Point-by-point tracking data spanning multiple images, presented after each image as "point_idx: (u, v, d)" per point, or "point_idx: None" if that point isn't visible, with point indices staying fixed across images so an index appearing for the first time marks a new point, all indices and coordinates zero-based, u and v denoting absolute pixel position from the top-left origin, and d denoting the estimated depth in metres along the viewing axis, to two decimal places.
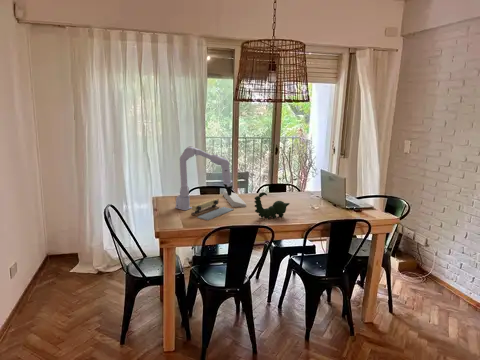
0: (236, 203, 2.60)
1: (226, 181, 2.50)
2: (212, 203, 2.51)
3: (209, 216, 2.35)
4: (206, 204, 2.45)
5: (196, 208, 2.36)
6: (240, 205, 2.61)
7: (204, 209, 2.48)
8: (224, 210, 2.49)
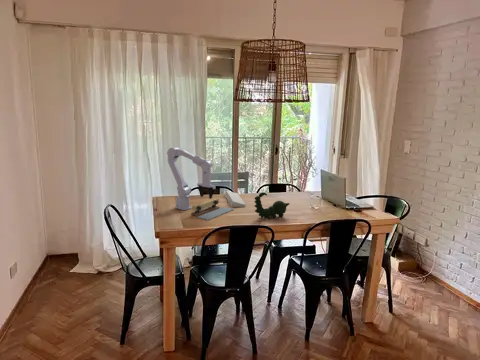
0: (235, 203, 2.60)
1: (208, 184, 2.42)
2: (212, 203, 2.51)
3: (209, 216, 2.35)
4: (206, 204, 2.45)
5: (196, 208, 2.36)
6: (239, 205, 2.61)
7: (204, 209, 2.48)
8: (224, 210, 2.49)
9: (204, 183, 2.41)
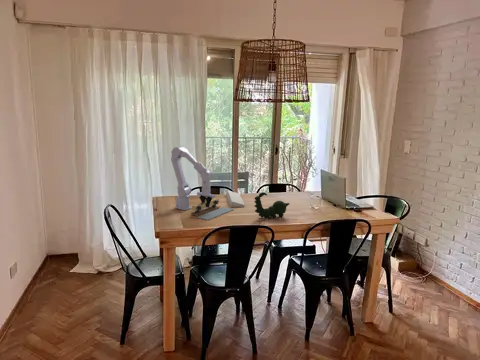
0: (234, 203, 2.60)
1: (208, 193, 2.43)
2: (212, 203, 2.51)
3: (209, 216, 2.35)
4: None
5: (196, 208, 2.36)
6: (238, 205, 2.61)
7: (204, 209, 2.48)
8: (224, 210, 2.49)
9: (204, 192, 2.42)
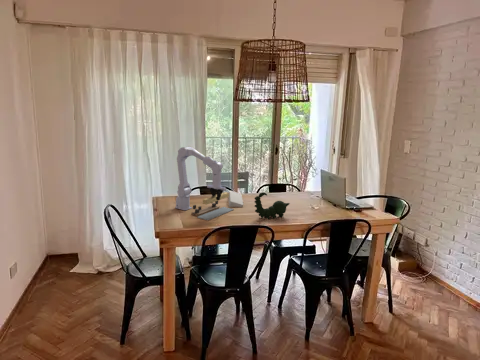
0: (233, 203, 2.60)
1: (219, 185, 2.37)
2: (222, 197, 2.45)
3: (209, 216, 2.35)
4: None
5: (207, 202, 2.30)
6: (237, 205, 2.61)
7: (204, 209, 2.48)
8: (224, 210, 2.49)
9: (214, 185, 2.36)
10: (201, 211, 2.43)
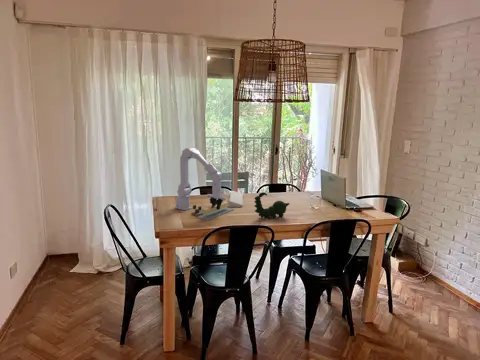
0: (232, 203, 2.60)
1: (219, 195, 2.38)
2: (222, 206, 2.46)
3: (209, 216, 2.35)
4: None
5: (207, 212, 2.31)
6: (236, 205, 2.61)
7: None
8: (224, 210, 2.49)
9: (214, 194, 2.38)
10: (201, 211, 2.43)
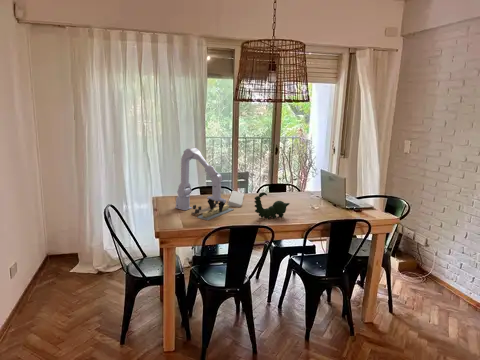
0: (231, 203, 2.61)
1: (219, 197, 2.39)
2: (222, 209, 2.47)
3: None
4: (216, 210, 2.41)
5: (207, 215, 2.32)
6: (235, 205, 2.61)
7: (204, 209, 2.48)
8: None
9: (214, 197, 2.38)
10: (201, 211, 2.43)
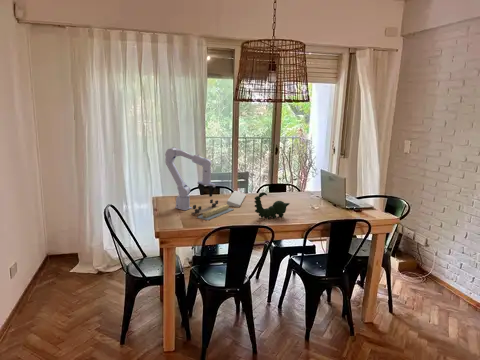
0: (229, 203, 2.61)
1: (208, 182, 2.45)
2: (222, 209, 2.47)
3: None
4: (216, 210, 2.41)
5: (207, 215, 2.32)
6: (234, 205, 2.61)
7: (204, 209, 2.48)
8: None
9: (204, 181, 2.44)
10: (201, 211, 2.43)
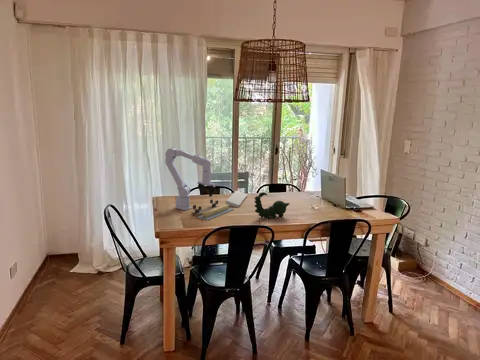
0: (229, 202, 2.61)
1: (208, 182, 2.45)
2: (222, 209, 2.47)
3: None
4: (216, 210, 2.41)
5: (207, 215, 2.32)
6: (233, 205, 2.61)
7: (204, 209, 2.48)
8: None
9: (204, 181, 2.44)
10: (201, 211, 2.43)
